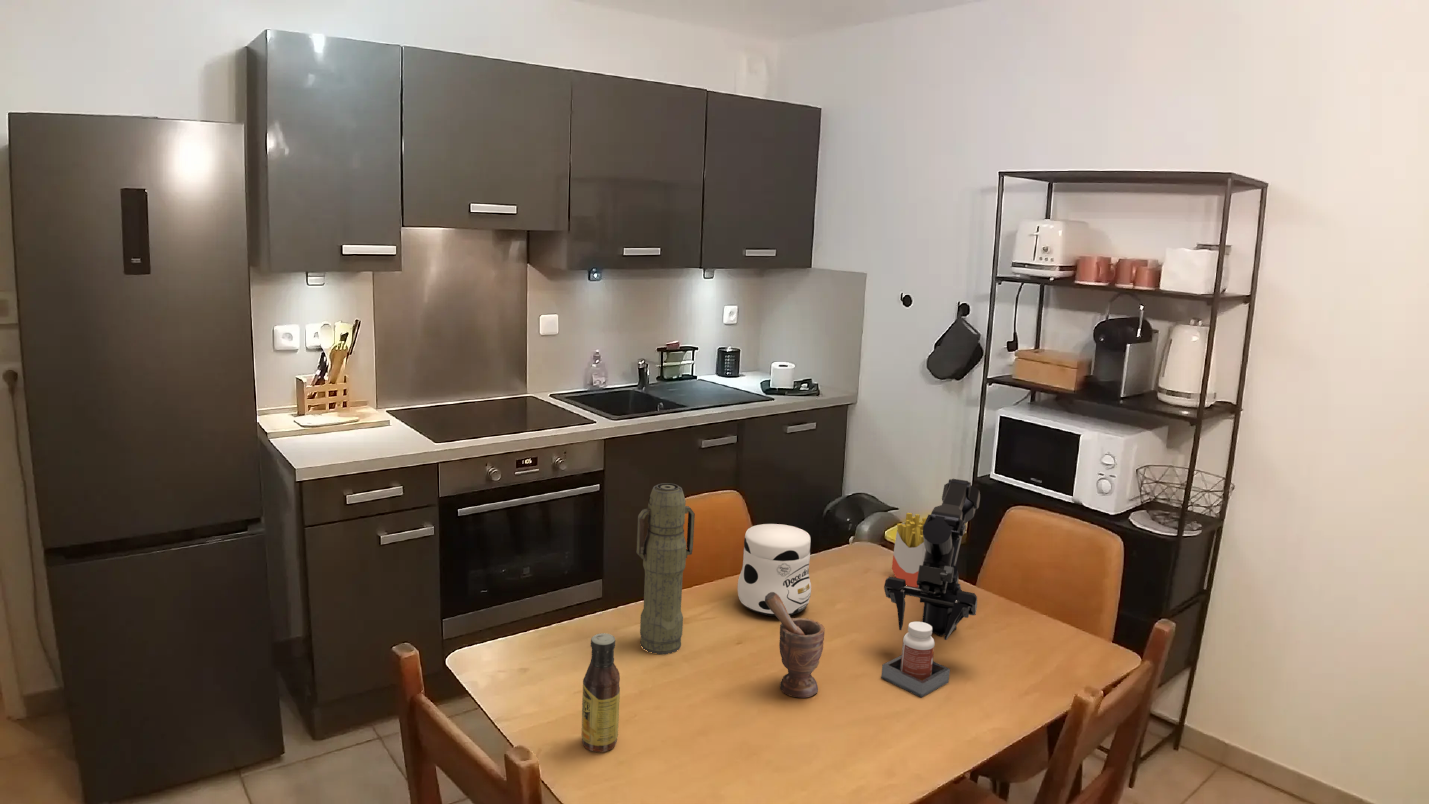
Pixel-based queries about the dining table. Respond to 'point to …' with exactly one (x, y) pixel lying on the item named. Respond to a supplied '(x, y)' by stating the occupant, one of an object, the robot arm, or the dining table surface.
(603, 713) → the sauce bottle
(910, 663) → the pill bottle
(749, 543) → the milk container
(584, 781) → the dining table surface
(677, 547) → the thermos
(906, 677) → the gray open box
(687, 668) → the dining table surface
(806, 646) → the mortar and pestle
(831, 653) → the dining table surface
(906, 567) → the french fries container
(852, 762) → the dining table surface
